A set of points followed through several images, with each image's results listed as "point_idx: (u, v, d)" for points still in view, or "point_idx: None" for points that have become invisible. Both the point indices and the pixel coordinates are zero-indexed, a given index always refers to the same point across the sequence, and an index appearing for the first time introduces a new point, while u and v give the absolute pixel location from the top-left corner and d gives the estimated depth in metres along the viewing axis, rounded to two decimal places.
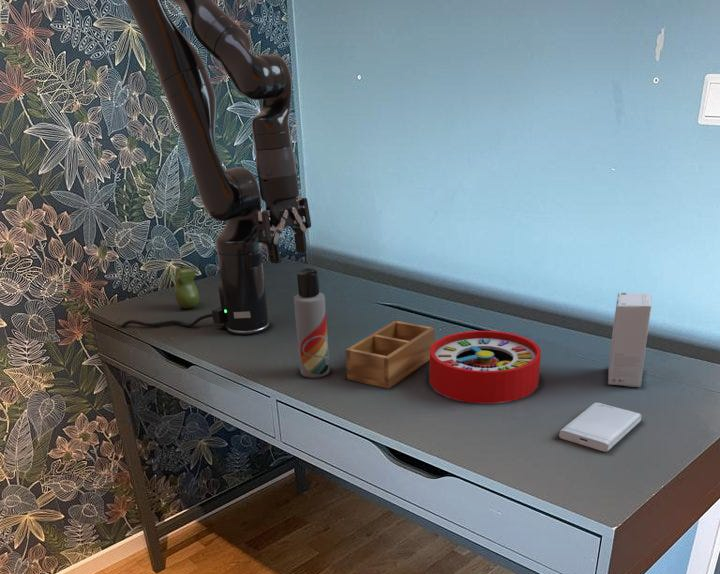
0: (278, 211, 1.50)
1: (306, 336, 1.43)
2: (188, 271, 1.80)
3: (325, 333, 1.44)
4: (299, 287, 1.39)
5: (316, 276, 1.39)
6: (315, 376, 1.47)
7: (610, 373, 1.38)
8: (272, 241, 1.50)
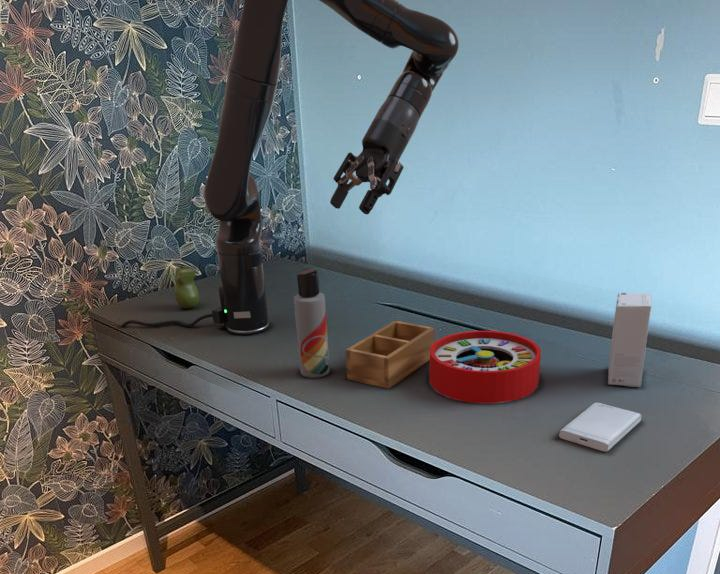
0: None
1: (306, 336, 1.43)
2: (188, 271, 1.80)
3: (325, 333, 1.44)
4: (299, 287, 1.39)
5: (316, 276, 1.39)
6: (315, 376, 1.47)
7: (610, 373, 1.38)
8: None
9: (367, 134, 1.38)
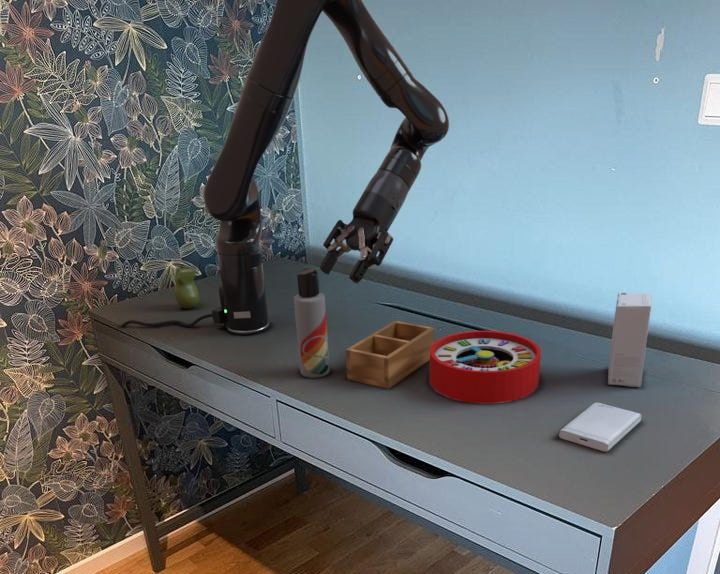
0: None
1: (306, 336, 1.43)
2: (188, 271, 1.80)
3: (325, 333, 1.44)
4: (299, 287, 1.39)
5: (316, 276, 1.39)
6: (315, 376, 1.47)
7: (610, 373, 1.38)
8: None
9: (358, 205, 1.42)
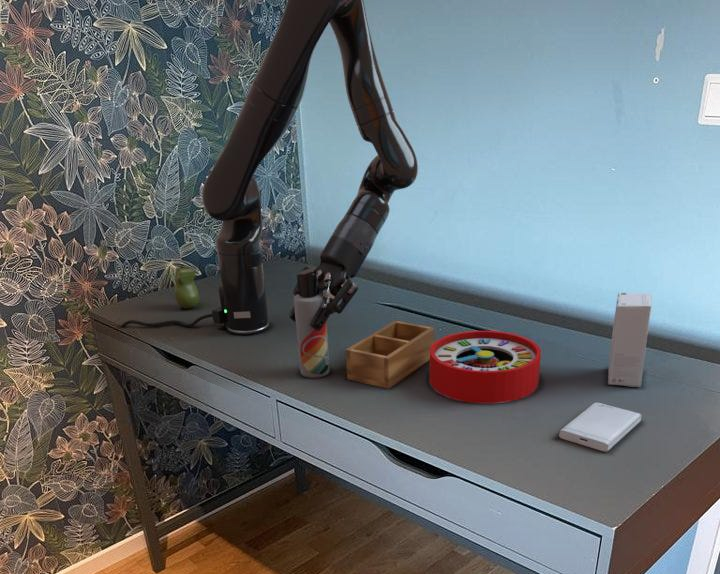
0: None
1: (306, 336, 1.43)
2: (188, 271, 1.80)
3: (325, 333, 1.44)
4: (299, 287, 1.39)
5: (316, 276, 1.39)
6: (315, 376, 1.47)
7: (610, 373, 1.38)
8: None
9: (325, 250, 1.41)
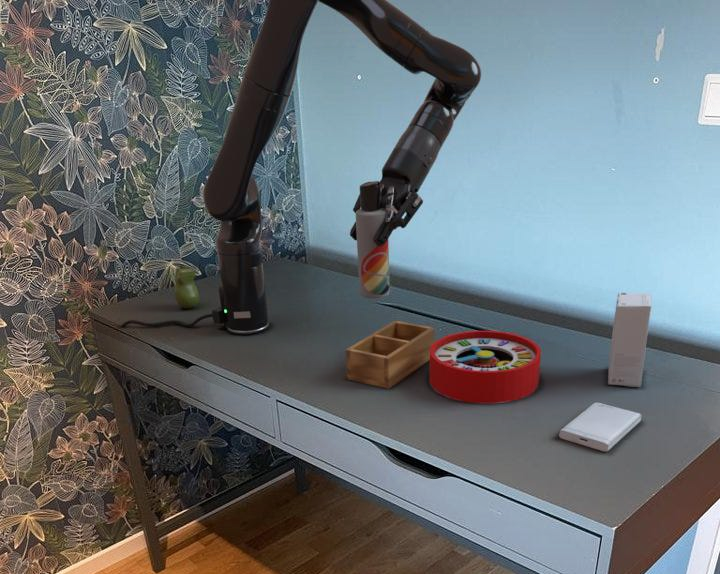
0: None
1: (368, 253, 1.38)
2: (188, 271, 1.80)
3: (387, 250, 1.39)
4: (362, 200, 1.35)
5: (380, 188, 1.34)
6: (376, 297, 1.42)
7: (610, 373, 1.38)
8: (396, 226, 1.36)
9: (388, 163, 1.36)
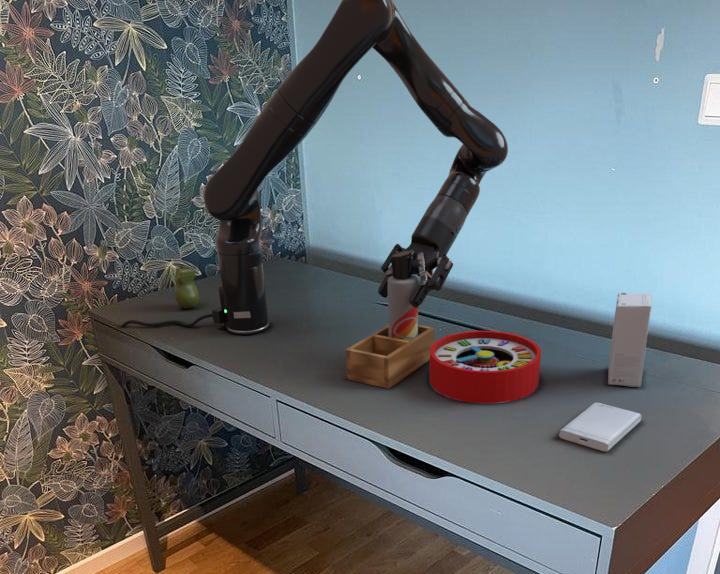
0: None
1: (399, 318, 1.45)
2: (188, 271, 1.80)
3: (416, 315, 1.47)
4: (394, 269, 1.42)
5: (411, 258, 1.41)
6: None
7: (610, 373, 1.38)
8: None
9: (418, 230, 1.43)
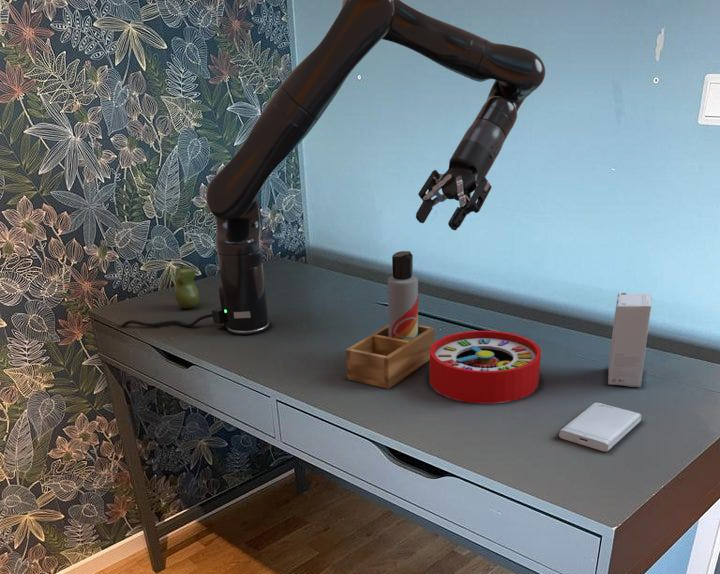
0: None
1: (399, 318, 1.45)
2: (188, 271, 1.80)
3: (416, 315, 1.47)
4: (394, 269, 1.42)
5: (411, 258, 1.41)
6: None
7: (610, 373, 1.38)
8: None
9: (456, 154, 1.45)
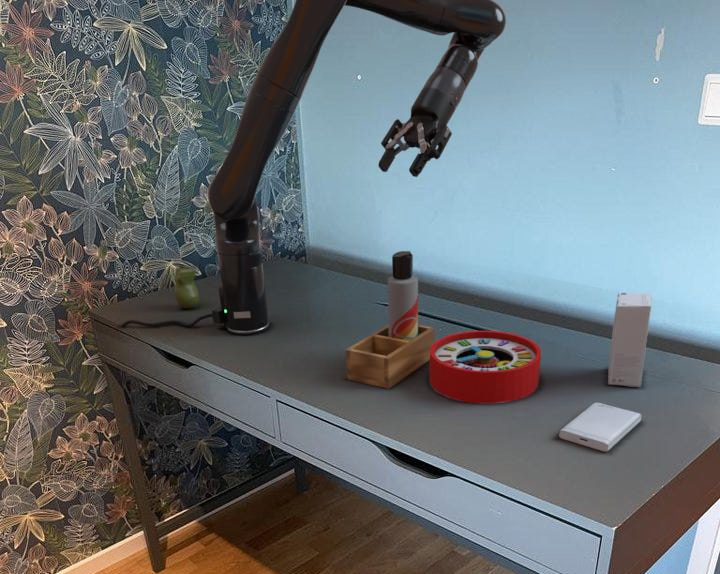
0: None
1: (399, 318, 1.45)
2: (188, 271, 1.80)
3: (416, 315, 1.47)
4: (394, 269, 1.42)
5: (411, 258, 1.41)
6: None
7: (610, 373, 1.38)
8: None
9: (417, 101, 1.46)
